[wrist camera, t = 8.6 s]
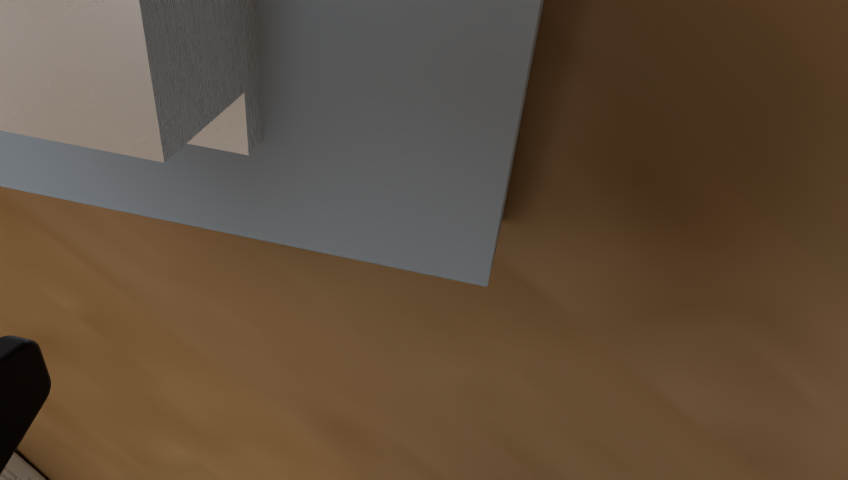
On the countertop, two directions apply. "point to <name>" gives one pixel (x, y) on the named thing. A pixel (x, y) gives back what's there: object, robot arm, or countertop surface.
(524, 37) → the stand
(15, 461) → the skincare box
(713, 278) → the countertop surface
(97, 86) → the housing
